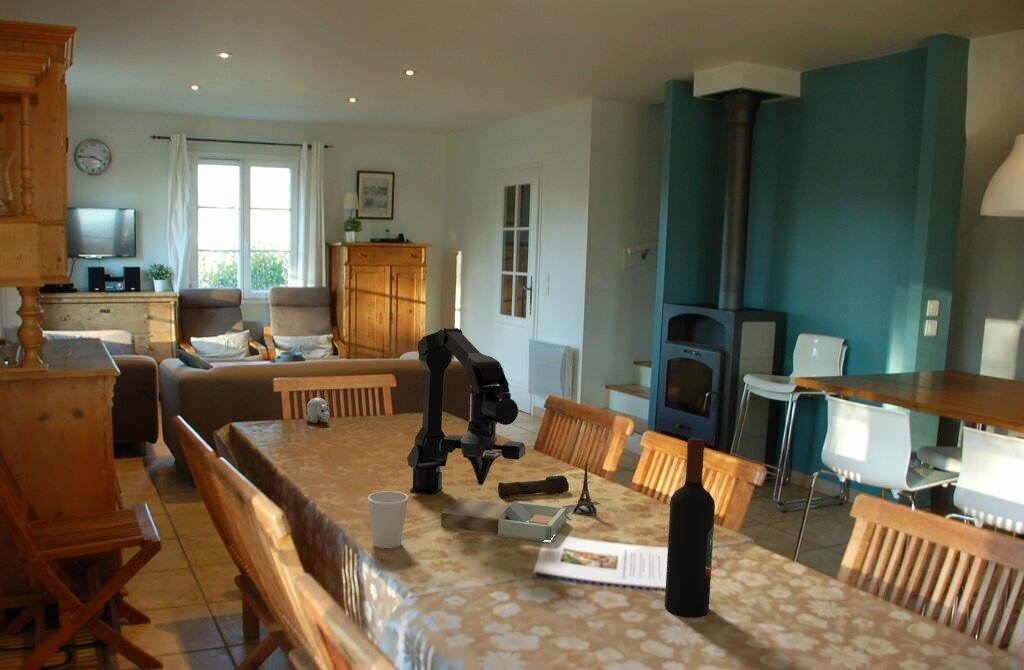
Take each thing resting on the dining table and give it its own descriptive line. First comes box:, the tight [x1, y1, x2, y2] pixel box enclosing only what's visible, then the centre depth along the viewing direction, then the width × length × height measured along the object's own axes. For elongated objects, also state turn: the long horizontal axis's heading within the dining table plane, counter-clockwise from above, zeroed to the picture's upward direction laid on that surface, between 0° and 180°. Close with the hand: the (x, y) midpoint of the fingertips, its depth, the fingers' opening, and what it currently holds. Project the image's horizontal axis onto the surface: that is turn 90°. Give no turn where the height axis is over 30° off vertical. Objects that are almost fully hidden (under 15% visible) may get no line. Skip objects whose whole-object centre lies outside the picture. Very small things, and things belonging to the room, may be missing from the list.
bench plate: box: [440, 498, 511, 535], centre depth 192 cm, size 14×12×3 cm
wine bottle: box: [664, 437, 716, 619], centre depth 148 cm, size 8×8×30 cm
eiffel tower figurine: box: [561, 458, 601, 521], centre depth 203 cm, size 15×10×13 cm
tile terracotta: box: [529, 515, 553, 525], centre depth 188 cm, size 5×5×2 cm
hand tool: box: [497, 475, 570, 499], centre depth 216 cm, size 19×4×5 cm, turn 109°
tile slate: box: [504, 499, 531, 522], centre depth 190 cm, size 5×5×2 cm
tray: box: [497, 501, 567, 543], centre depth 189 cm, size 12×15×4 cm
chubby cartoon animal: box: [306, 397, 331, 424], centre depth 294 cm, size 7×12×8 cm, turn 34°
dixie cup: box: [367, 490, 409, 549], centre depth 176 cm, size 8×8×10 cm
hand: (481, 484), depth 192 cm, fingers closed
